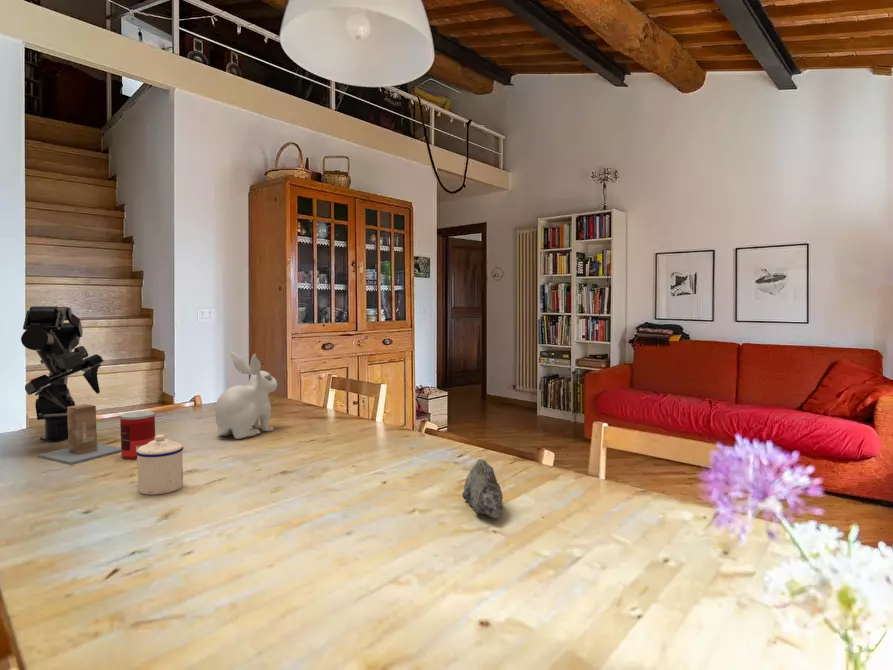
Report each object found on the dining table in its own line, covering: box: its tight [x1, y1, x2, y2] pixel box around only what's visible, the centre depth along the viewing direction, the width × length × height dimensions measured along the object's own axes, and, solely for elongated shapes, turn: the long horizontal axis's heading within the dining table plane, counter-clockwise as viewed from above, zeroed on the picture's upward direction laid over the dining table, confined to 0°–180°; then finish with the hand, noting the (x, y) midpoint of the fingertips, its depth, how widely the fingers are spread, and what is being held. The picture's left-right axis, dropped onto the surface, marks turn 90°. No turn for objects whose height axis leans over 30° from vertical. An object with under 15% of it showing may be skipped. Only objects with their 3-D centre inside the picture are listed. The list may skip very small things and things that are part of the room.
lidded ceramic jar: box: [136, 434, 184, 496], centre depth 123 cm, size 12×9×12 cm
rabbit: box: [215, 350, 278, 440], centre depth 171 cm, size 12×21×25 cm, turn 148°
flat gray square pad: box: [37, 442, 121, 466], centre depth 148 cm, size 14×14×1 cm
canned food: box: [119, 410, 156, 460], centre depth 147 cm, size 8×8×11 cm
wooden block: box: [67, 403, 98, 455], centre depth 148 cm, size 5×5×12 cm
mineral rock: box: [462, 458, 505, 519], centre depth 111 cm, size 13×11×10 cm
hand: (82, 400), depth 154 cm, fingers open, 9 cm apart
